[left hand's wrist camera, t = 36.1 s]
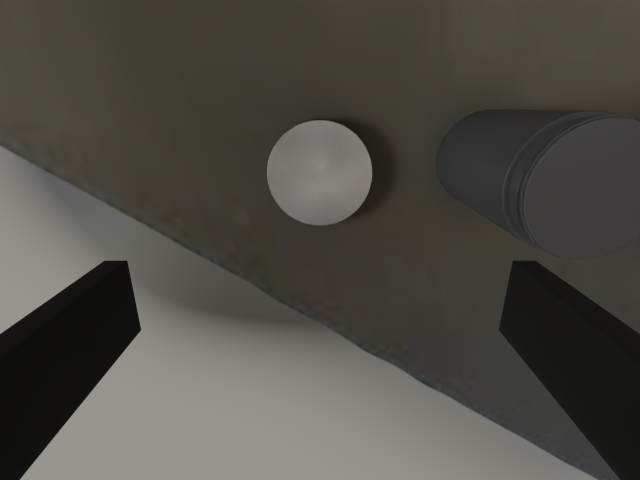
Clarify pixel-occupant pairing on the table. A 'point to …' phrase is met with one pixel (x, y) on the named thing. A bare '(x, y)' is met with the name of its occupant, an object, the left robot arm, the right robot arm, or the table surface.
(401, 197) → the table surface
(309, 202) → the lid
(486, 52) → the table surface
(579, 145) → the screw-top jar
